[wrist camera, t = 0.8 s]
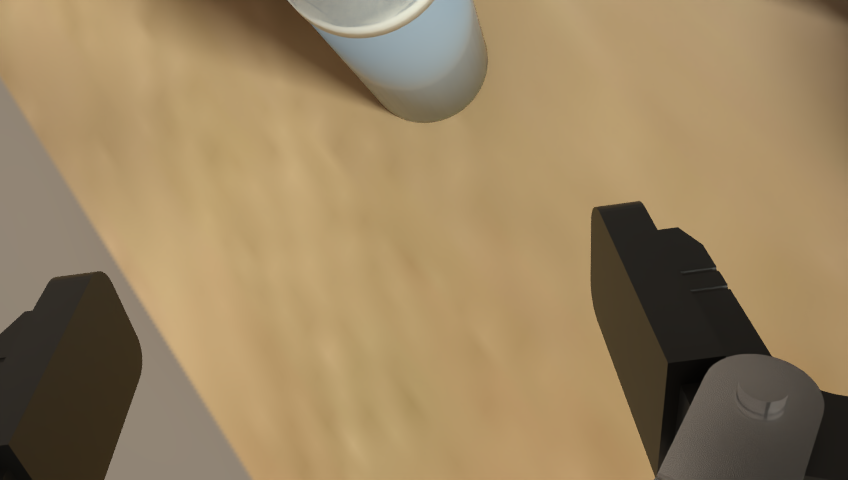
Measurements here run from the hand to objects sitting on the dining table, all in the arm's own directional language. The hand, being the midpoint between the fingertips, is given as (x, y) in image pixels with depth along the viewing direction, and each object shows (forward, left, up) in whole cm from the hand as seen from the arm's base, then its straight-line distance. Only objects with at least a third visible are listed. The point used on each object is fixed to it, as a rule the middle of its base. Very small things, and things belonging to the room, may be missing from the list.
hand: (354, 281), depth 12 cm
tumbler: (-9, -6, -21) cm, 24 cm away
